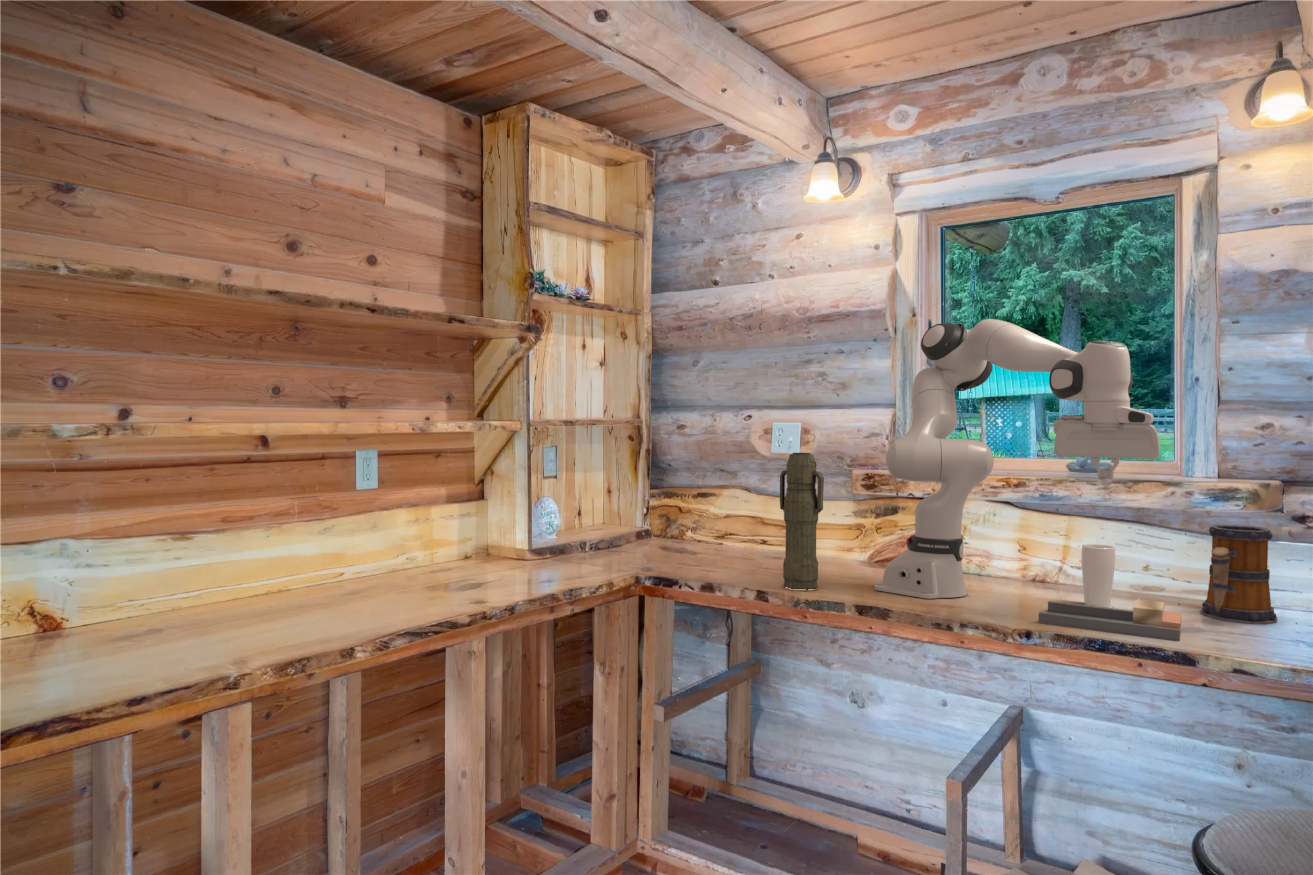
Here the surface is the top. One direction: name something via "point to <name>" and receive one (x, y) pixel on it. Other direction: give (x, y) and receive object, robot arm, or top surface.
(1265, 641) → the top surface
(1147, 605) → the block
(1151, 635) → the guide channel
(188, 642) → the top surface
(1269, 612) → the mug
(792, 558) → the thermos
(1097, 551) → the white tumbler
